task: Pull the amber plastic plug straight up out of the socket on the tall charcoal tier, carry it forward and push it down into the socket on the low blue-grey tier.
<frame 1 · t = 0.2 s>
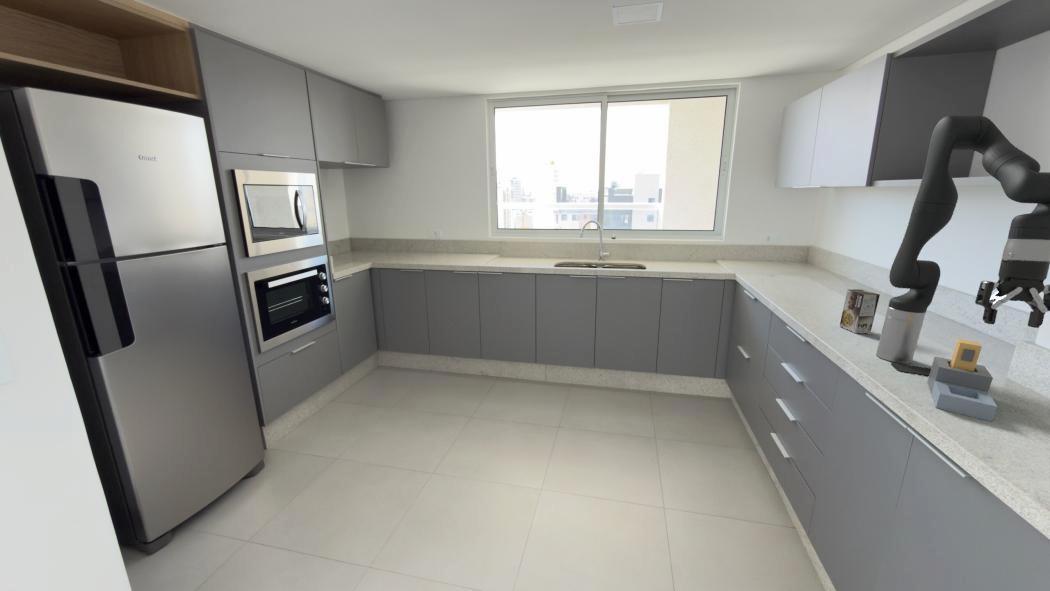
hand: (1010, 325, 102), 23 cm above the worktop, tool pointing down, fingers open, 8 cm apart
phone: (923, 373, 130), on the worktop
plug: (958, 376, 115), point 5 cm above the worktop, touching socket block
coffee box: (854, 330, 168), on the worktop
socket block: (956, 399, 112), on the worktop
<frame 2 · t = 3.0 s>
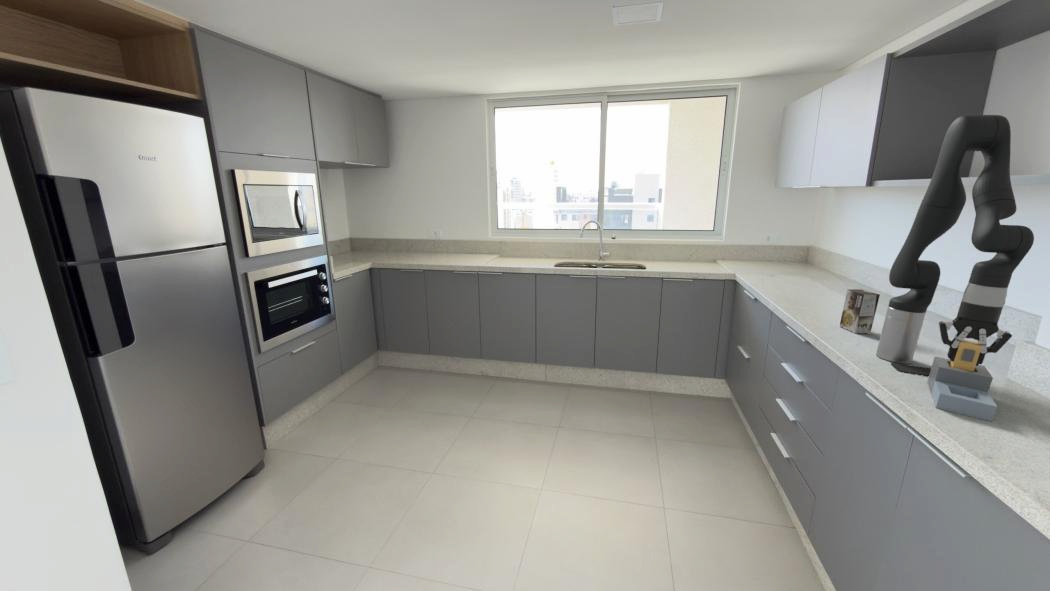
hand: (963, 362, 114), 9 cm above the worktop, tool pointing down, fingers closed on plug, 4 cm apart
plug: (958, 376, 115), point 5 cm above the worktop, touching gripper, socket block
everything else where it was.
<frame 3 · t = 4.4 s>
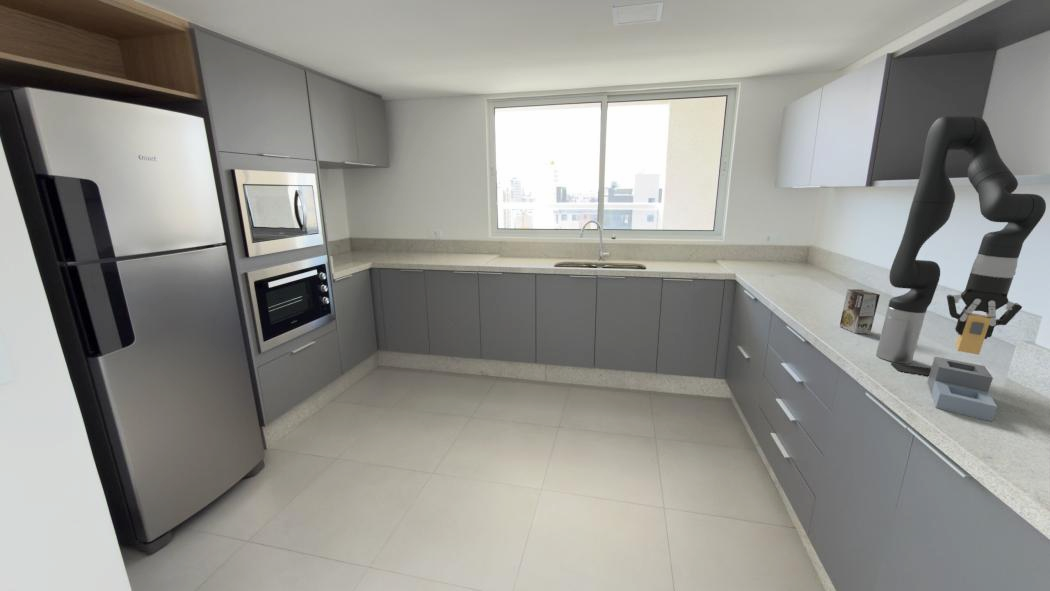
hand: (971, 335, 112), 17 cm above the worktop, tool pointing down, fingers closed on plug, 4 cm apart
plug: (966, 350, 113), point 13 cm above the worktop, touching gripper
everything else where it was.
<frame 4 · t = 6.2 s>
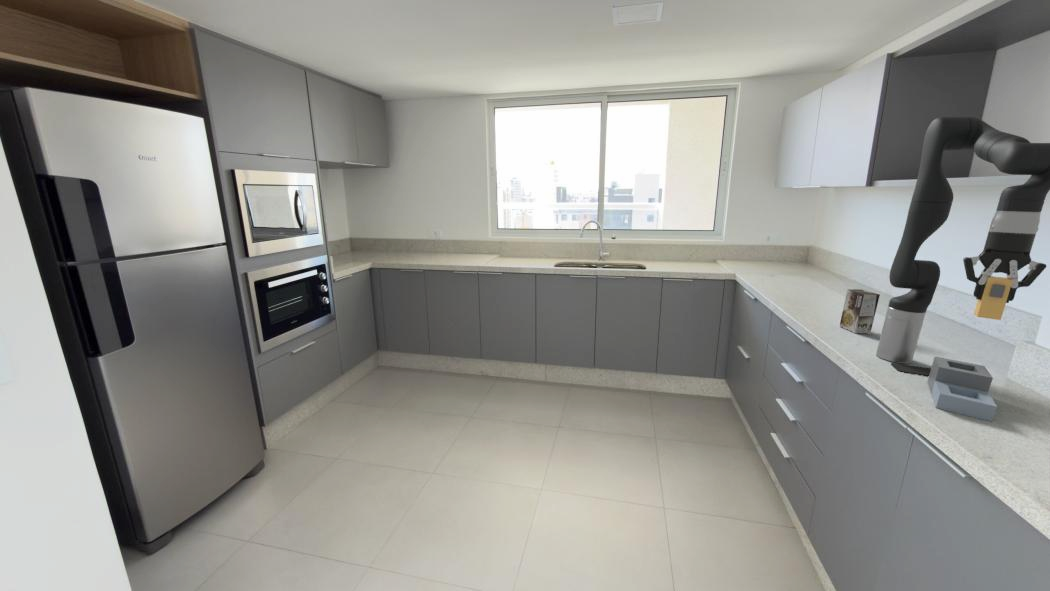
hand: (991, 300, 104), 28 cm above the worktop, tool pointing down, fingers closed on plug, 4 cm apart
plug: (986, 316, 105), point 24 cm above the worktop, touching gripper
everything else where it was.
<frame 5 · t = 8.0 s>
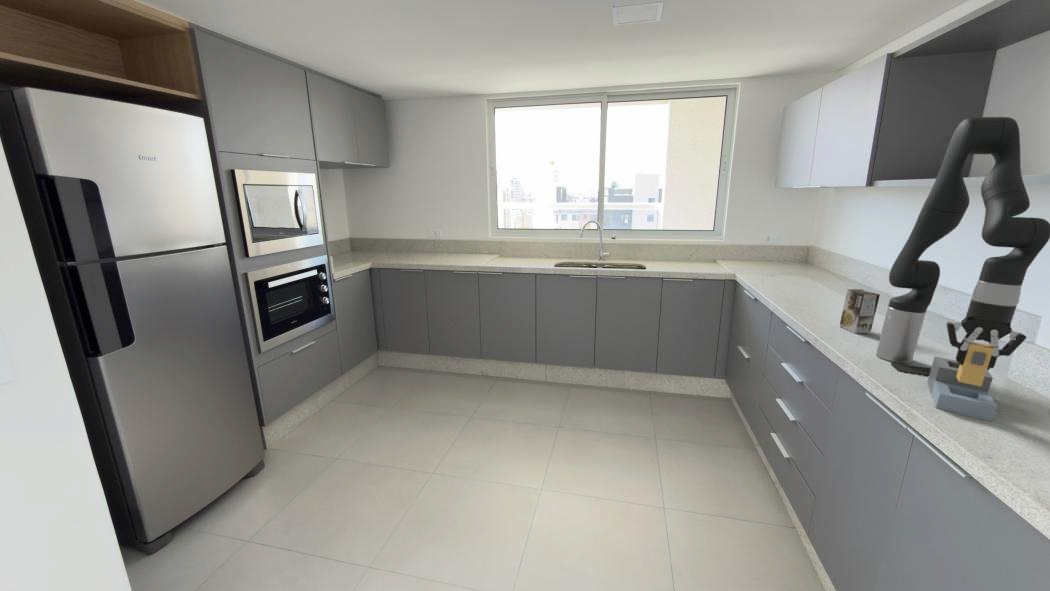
hand: (973, 365, 105), 11 cm above the worktop, tool pointing down, fingers closed on plug, 4 cm apart
plug: (968, 381, 106), point 7 cm above the worktop, touching gripper
everything else where it was.
when the fingers open (7 cm above the worktop, at t = 9.4 s): plug drops 1 cm, resting on socket block.
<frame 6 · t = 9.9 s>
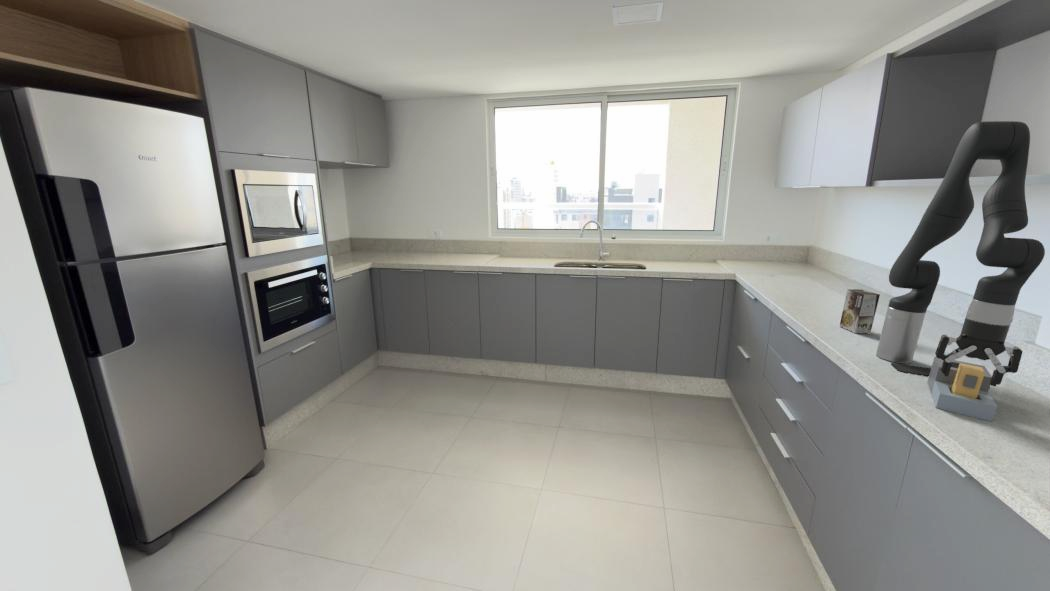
hand: (968, 380, 106), 8 cm above the worktop, tool pointing down, fingers open, 8 cm apart
plug: (960, 403, 108), point 1 cm above the worktop, touching socket block
everything else where it was.
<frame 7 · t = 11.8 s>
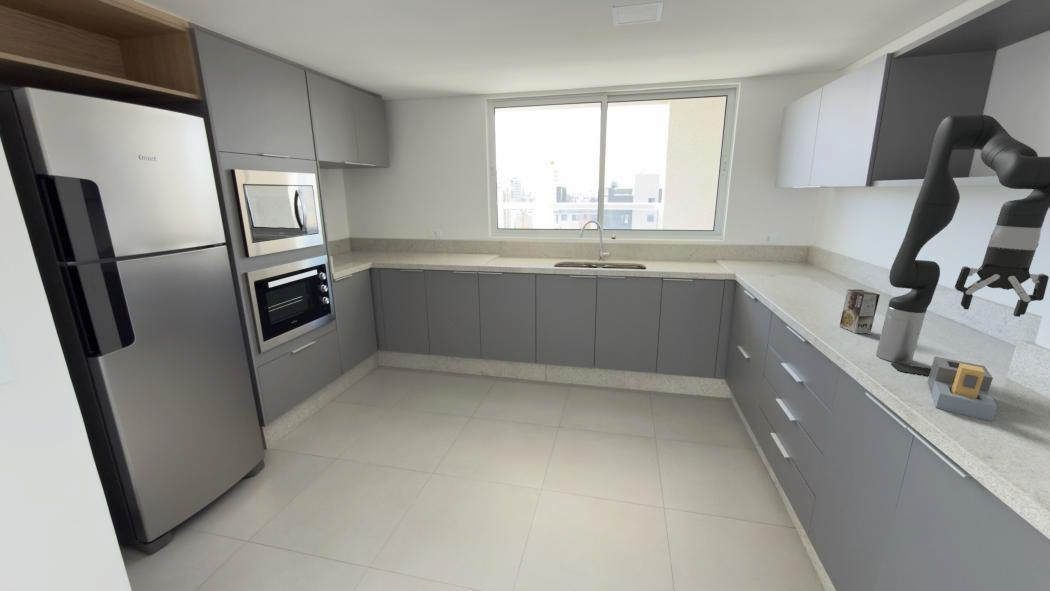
hand: (990, 312, 102), 26 cm above the worktop, tool pointing down, fingers open, 8 cm apart
nothing on the worktop moved.
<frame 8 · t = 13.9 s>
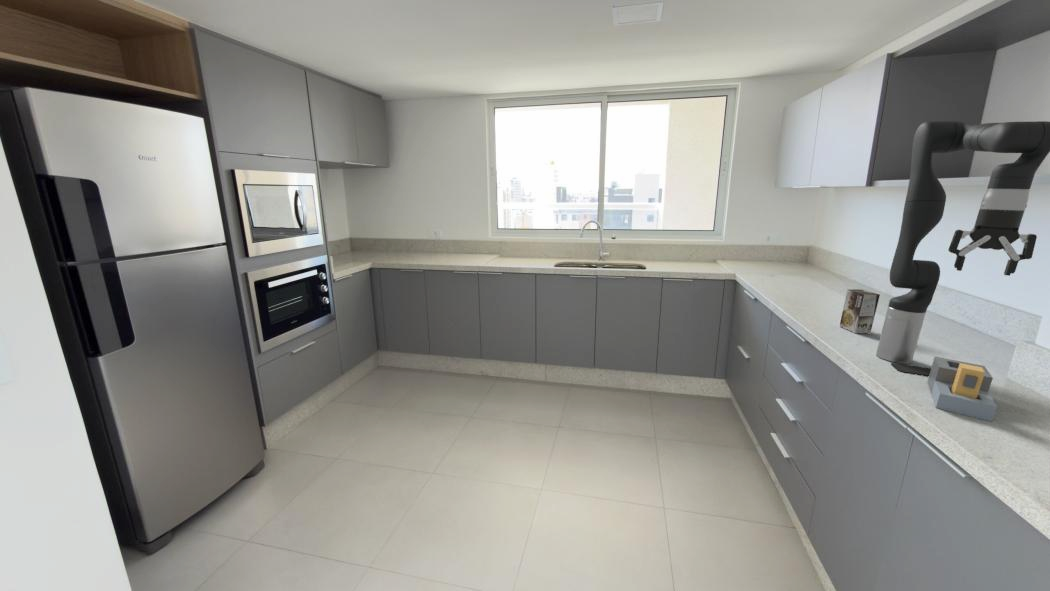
hand: (982, 272, 107), 34 cm above the worktop, tool pointing down, fingers open, 8 cm apart
nothing on the worktop moved.
at the end: plug 0.0 cm from the target spot on the socket block, point 1.0 cm above the socket block's base; plug tilted 0°; the gripper is holding nothing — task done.
